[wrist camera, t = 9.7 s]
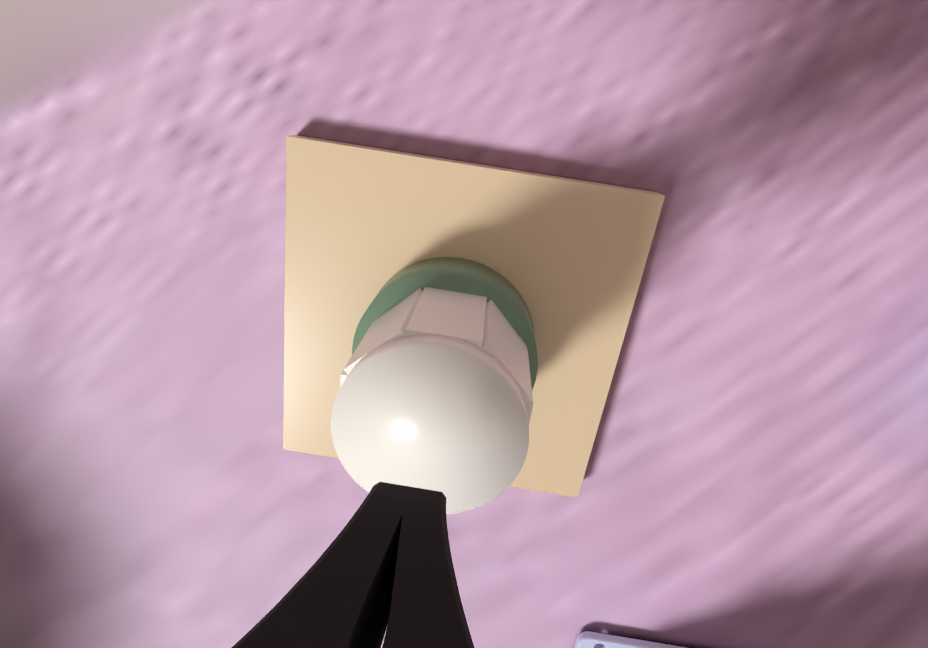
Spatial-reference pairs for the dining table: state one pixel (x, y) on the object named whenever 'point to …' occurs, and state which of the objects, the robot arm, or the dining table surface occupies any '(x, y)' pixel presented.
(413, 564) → the robot arm
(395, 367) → the cap
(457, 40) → the dining table surface
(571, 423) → the beige square tray
